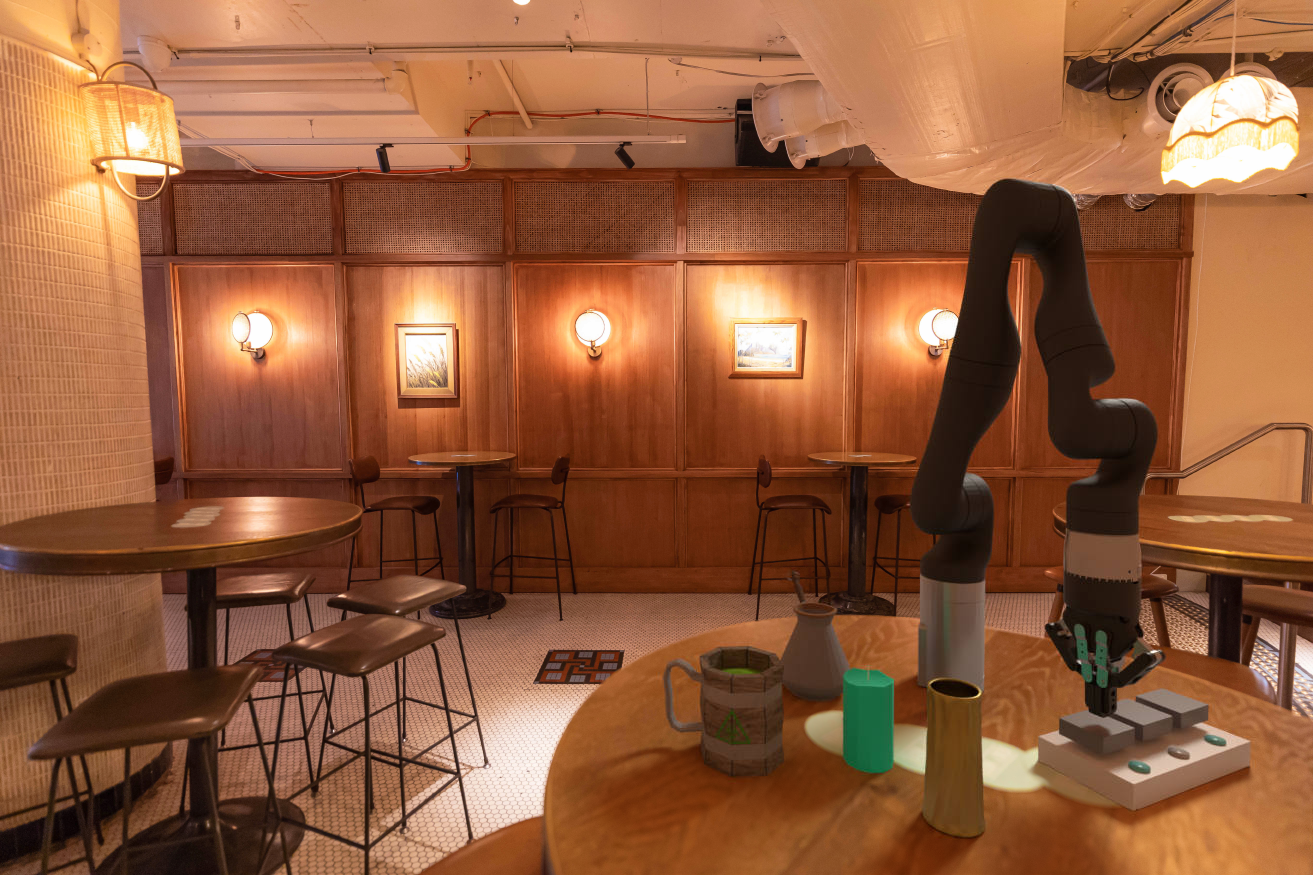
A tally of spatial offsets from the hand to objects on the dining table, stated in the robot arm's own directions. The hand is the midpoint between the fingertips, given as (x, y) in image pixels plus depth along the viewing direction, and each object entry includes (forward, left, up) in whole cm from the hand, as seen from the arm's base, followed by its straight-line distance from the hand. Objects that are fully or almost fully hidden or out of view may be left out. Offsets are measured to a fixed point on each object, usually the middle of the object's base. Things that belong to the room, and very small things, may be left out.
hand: (1100, 714), depth 76 cm
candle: (-25, -9, -7) cm, 28 cm away
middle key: (+4, +6, -3) cm, 8 cm away
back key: (+9, +11, -3) cm, 15 cm away
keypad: (+5, +5, -7) cm, 10 cm away
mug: (-42, -15, -7) cm, 45 cm away
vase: (-15, -17, -7) cm, 24 cm away
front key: (0, 0, -3) cm, 3 cm away
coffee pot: (-38, +12, -7) cm, 41 cm away
